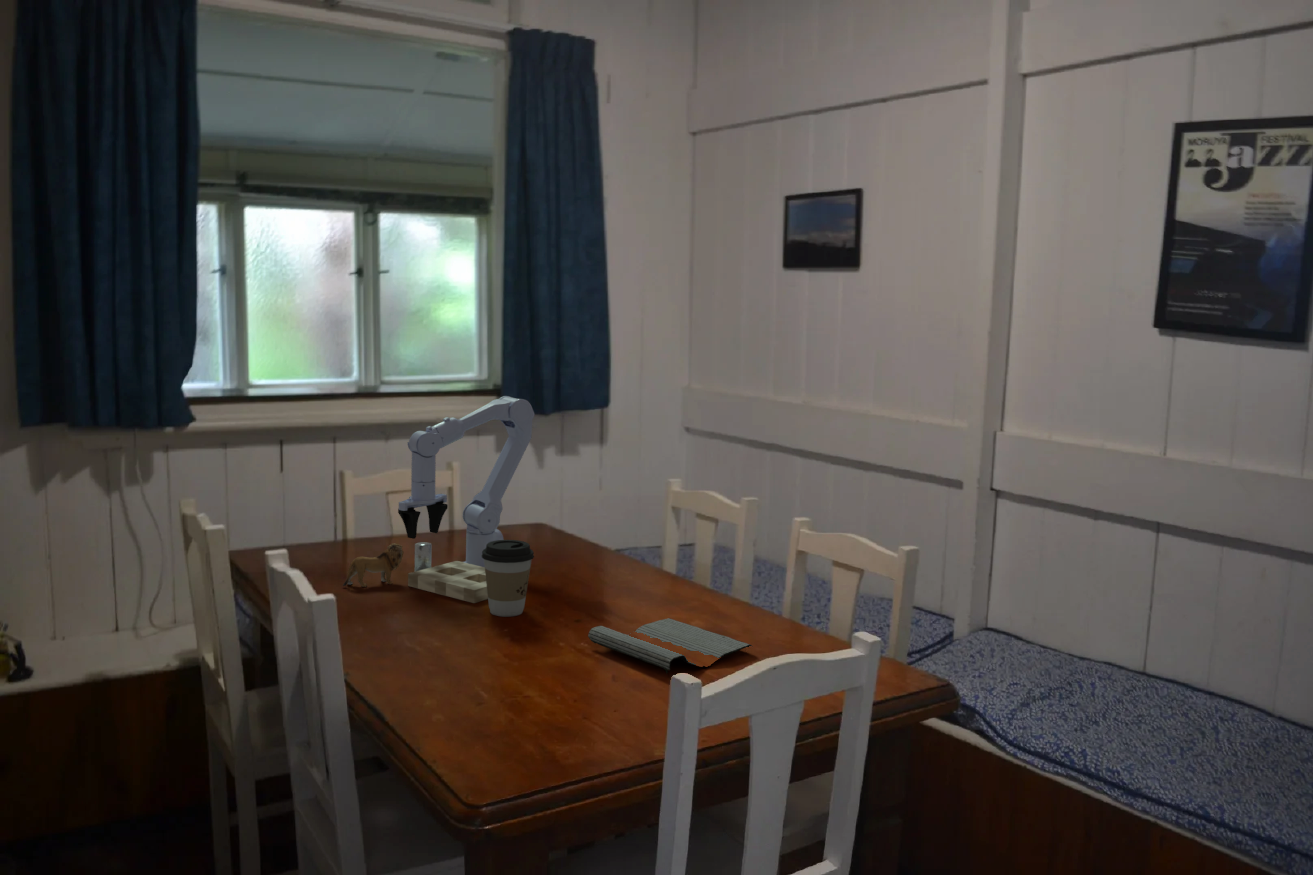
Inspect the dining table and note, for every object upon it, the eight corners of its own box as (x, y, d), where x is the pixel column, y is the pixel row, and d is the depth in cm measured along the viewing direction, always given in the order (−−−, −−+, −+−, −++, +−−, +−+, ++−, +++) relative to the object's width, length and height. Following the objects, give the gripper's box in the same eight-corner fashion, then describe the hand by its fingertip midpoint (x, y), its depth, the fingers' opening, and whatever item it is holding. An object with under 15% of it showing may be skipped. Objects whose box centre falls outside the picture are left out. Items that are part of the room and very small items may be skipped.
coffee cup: (522, 622, 212) (524, 552, 210) (471, 616, 214) (473, 547, 213) (539, 606, 223) (541, 541, 221) (491, 601, 226) (492, 536, 224)
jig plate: (456, 572, 249) (456, 560, 248) (521, 588, 237) (521, 575, 237) (407, 585, 235) (408, 573, 235) (474, 603, 224) (474, 590, 224)
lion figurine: (397, 576, 243) (398, 540, 242) (407, 582, 239) (407, 545, 238) (338, 585, 233) (338, 547, 232) (347, 590, 229) (347, 552, 228)
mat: (753, 656, 199) (754, 633, 198) (668, 684, 182) (669, 659, 182) (671, 626, 215) (672, 605, 214) (586, 649, 199) (587, 626, 198)
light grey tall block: (423, 568, 251) (423, 541, 250) (434, 571, 249) (435, 544, 248) (411, 572, 247) (411, 544, 246) (422, 574, 245) (423, 546, 244)
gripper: (432, 474, 253) (431, 527, 255) (389, 482, 240) (389, 537, 242) (453, 478, 249) (452, 531, 251) (410, 486, 237) (410, 542, 239)
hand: (422, 535), depth 246 cm, fingers open, 7 cm apart
